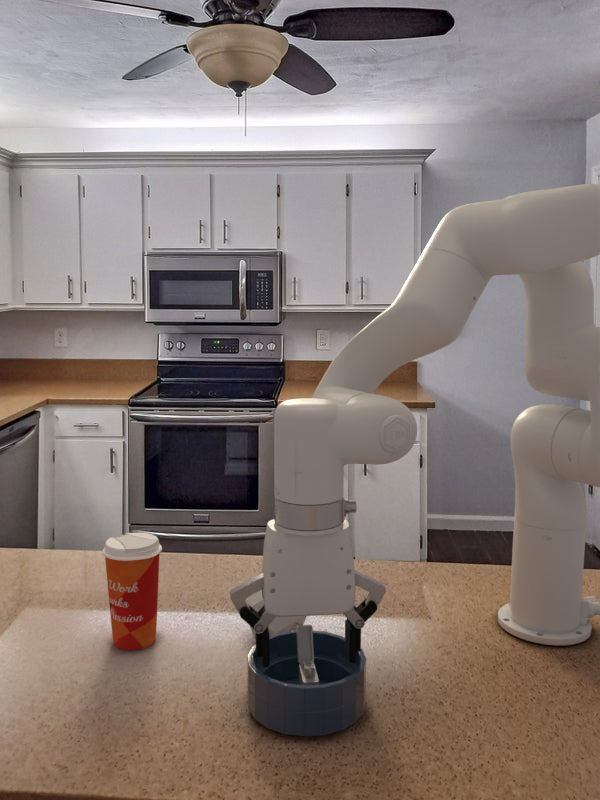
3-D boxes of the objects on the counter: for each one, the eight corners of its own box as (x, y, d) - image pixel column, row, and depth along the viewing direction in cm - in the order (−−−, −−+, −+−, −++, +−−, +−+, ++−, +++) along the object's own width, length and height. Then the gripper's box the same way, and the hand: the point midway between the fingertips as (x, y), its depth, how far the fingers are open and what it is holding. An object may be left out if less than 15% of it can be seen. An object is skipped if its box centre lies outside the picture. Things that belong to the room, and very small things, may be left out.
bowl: (352, 673, 90) (353, 627, 90) (375, 737, 77) (377, 684, 77) (245, 679, 89) (245, 632, 88) (250, 745, 76) (250, 691, 75)
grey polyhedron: (284, 666, 93) (325, 596, 95) (225, 627, 94) (267, 559, 96) (285, 657, 102) (322, 594, 104) (230, 622, 103) (269, 560, 105)
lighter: (318, 718, 80) (319, 649, 79) (302, 719, 79) (303, 650, 78) (310, 684, 87) (311, 620, 86) (295, 685, 86) (296, 621, 85)
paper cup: (93, 640, 98) (90, 540, 96) (141, 622, 104) (139, 527, 102) (127, 660, 93) (124, 555, 91) (175, 640, 99) (174, 540, 97)
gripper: (379, 500, 85) (376, 639, 87) (228, 504, 83) (230, 647, 85) (394, 520, 77) (391, 672, 80) (229, 525, 75) (231, 681, 78)
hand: (308, 659), depth 82 cm, fingers open, 9 cm apart
